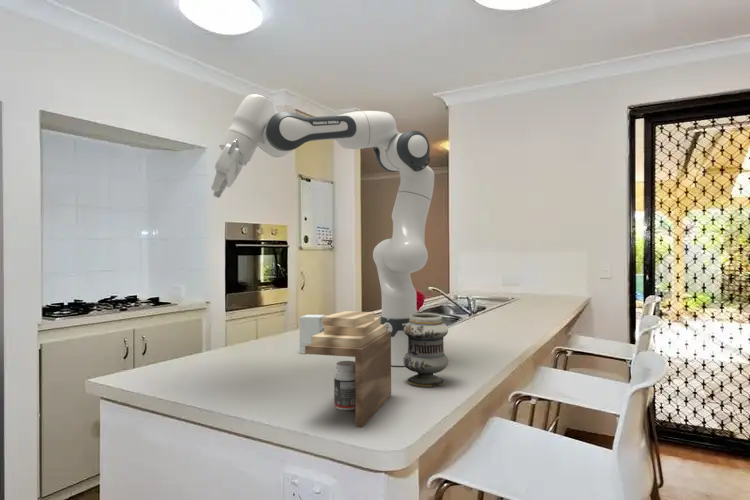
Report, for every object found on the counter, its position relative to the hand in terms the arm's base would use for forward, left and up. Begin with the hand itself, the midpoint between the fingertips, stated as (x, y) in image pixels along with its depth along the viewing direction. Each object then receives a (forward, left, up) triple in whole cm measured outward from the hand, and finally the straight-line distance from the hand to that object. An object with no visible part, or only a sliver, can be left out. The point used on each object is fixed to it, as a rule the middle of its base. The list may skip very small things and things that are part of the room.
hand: (215, 193), depth 129 cm
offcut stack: (-9, +41, -35) cm, 55 cm away
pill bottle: (-9, +40, -51) cm, 65 cm away
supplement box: (-43, -10, -51) cm, 67 cm away
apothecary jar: (-37, +42, -51) cm, 76 cm away
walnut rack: (-9, +41, -51) cm, 66 cm away
